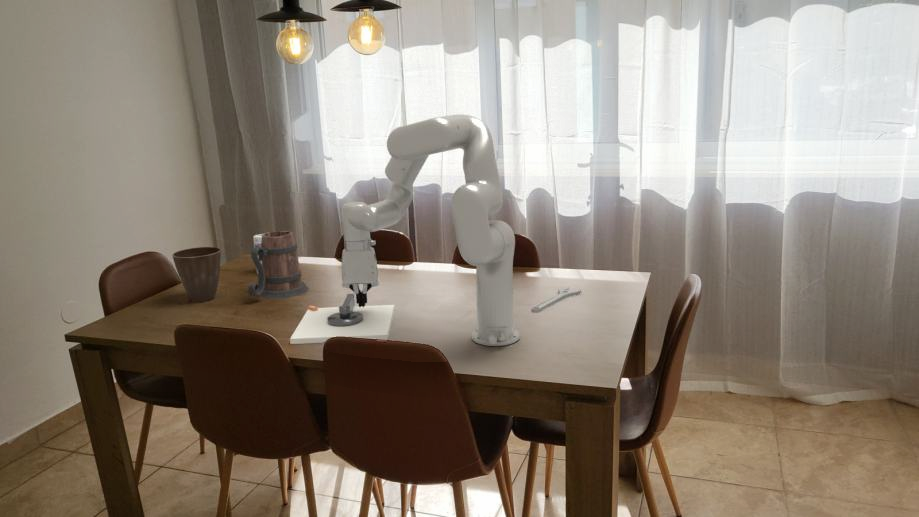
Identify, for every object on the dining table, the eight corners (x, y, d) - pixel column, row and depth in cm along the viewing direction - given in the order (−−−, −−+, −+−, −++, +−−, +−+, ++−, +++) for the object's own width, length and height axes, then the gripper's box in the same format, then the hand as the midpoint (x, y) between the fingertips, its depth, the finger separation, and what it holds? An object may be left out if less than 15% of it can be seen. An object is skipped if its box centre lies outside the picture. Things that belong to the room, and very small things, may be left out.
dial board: (387, 340, 188) (386, 331, 188) (290, 344, 188) (289, 335, 187) (395, 304, 218) (395, 297, 217) (311, 308, 218) (311, 300, 217)
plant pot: (170, 300, 232) (163, 253, 228) (212, 289, 243) (206, 244, 239) (192, 308, 222) (185, 259, 218) (235, 297, 233) (229, 250, 229)
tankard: (280, 282, 248) (274, 227, 243) (318, 286, 241) (313, 229, 236) (232, 301, 228) (225, 241, 223) (273, 307, 221) (266, 245, 216)
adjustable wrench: (537, 315, 205) (537, 309, 205) (519, 310, 209) (519, 305, 209) (584, 293, 223) (584, 288, 222) (567, 290, 227) (567, 285, 227)
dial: (360, 325, 196) (359, 311, 195) (324, 327, 195) (323, 313, 194) (368, 304, 214) (367, 291, 213) (335, 305, 214) (334, 293, 213)
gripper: (384, 241, 206) (388, 300, 210) (333, 243, 206) (338, 302, 210) (382, 247, 199) (386, 308, 203) (329, 249, 199) (334, 310, 203)
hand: (362, 305), depth 207 cm, fingers closed
